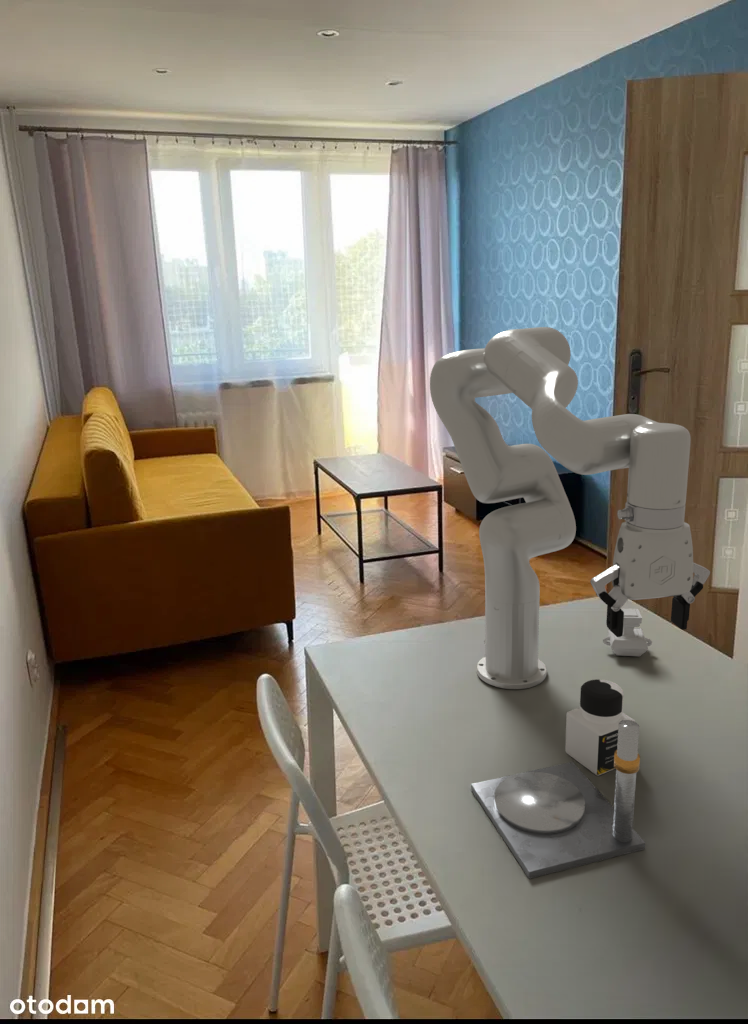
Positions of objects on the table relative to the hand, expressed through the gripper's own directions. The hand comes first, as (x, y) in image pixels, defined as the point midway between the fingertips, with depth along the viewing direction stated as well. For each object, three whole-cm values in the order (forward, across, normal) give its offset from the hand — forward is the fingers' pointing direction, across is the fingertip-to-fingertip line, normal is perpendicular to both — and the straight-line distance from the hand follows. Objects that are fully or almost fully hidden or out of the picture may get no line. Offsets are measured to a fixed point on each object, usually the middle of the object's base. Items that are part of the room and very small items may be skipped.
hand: (647, 629), depth 111 cm
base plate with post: (+21, -18, -11) cm, 29 cm away
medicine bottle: (+21, -6, +1) cm, 22 cm away
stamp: (+21, +14, +31) cm, 40 cm away
